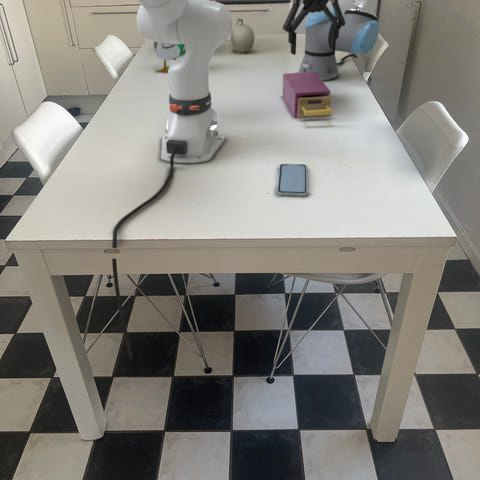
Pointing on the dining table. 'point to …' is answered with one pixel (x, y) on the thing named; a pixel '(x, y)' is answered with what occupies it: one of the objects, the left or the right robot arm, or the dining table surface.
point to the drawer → (314, 106)
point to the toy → (168, 52)
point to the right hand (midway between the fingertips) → (312, 51)
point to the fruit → (242, 37)
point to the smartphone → (292, 179)
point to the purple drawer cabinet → (301, 88)
